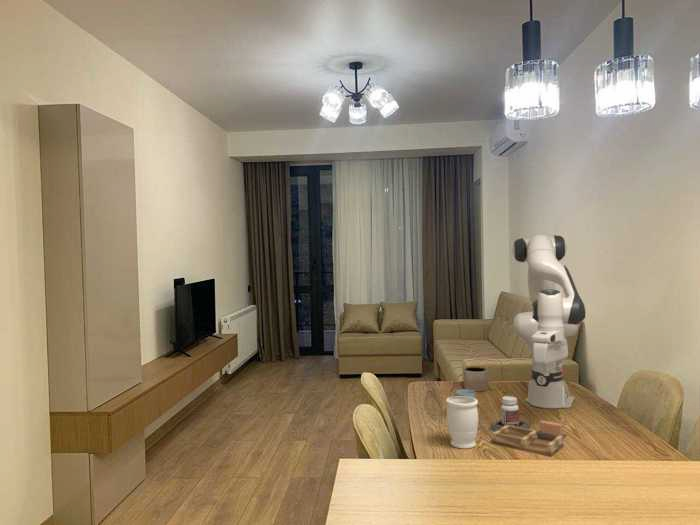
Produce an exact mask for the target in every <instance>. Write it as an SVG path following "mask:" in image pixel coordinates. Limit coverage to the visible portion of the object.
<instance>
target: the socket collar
mask: <svg viewBox="0 0 700 525" xmlns="http://www.w3.org/2000/svg"><path fill="white" fill-rule="evenodd" d="M502 427H504V426H502V418H500V419H498V420H496V421H494V422H492V423H490V431H494V432H496V431H497V430H499V429H501V428H502ZM519 427H520V428H525V429H530V430H531V422H529V421H524V420H519Z"/></svg>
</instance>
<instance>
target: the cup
mask: <svg viewBox="0 0 700 525" xmlns="http://www.w3.org/2000/svg"><path fill="white" fill-rule="evenodd" d="M454 392H455V394H454V395H455V397H456V396H465V397H471V398H475V399H476V392H475V391H473V390H466V389H457V390H455V391H454Z"/></svg>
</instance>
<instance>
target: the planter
mask: <svg viewBox="0 0 700 525" xmlns="http://www.w3.org/2000/svg"><path fill="white" fill-rule="evenodd" d="M463 384H464V385H463V388H464V390H473V391H476V392H475V393H480V392H479V391H483V392H486V391H487V390H488V384H489V383H488V369H487V368H485V367H482V366H481V367H480V366H470V367H465V368H463ZM485 390H486V391H485Z"/></svg>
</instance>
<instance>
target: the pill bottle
mask: <svg viewBox="0 0 700 525" xmlns="http://www.w3.org/2000/svg"><path fill="white" fill-rule="evenodd" d="M501 402H502V404H501V405H500V406H501V407H500V412H501V418H502V426H506V425H510V426H515V427H519V421H520V408H519V405H518V398H517V397H515V396H509V395H507V396H503V397H502V398H501ZM501 418H500V419H501Z"/></svg>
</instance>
